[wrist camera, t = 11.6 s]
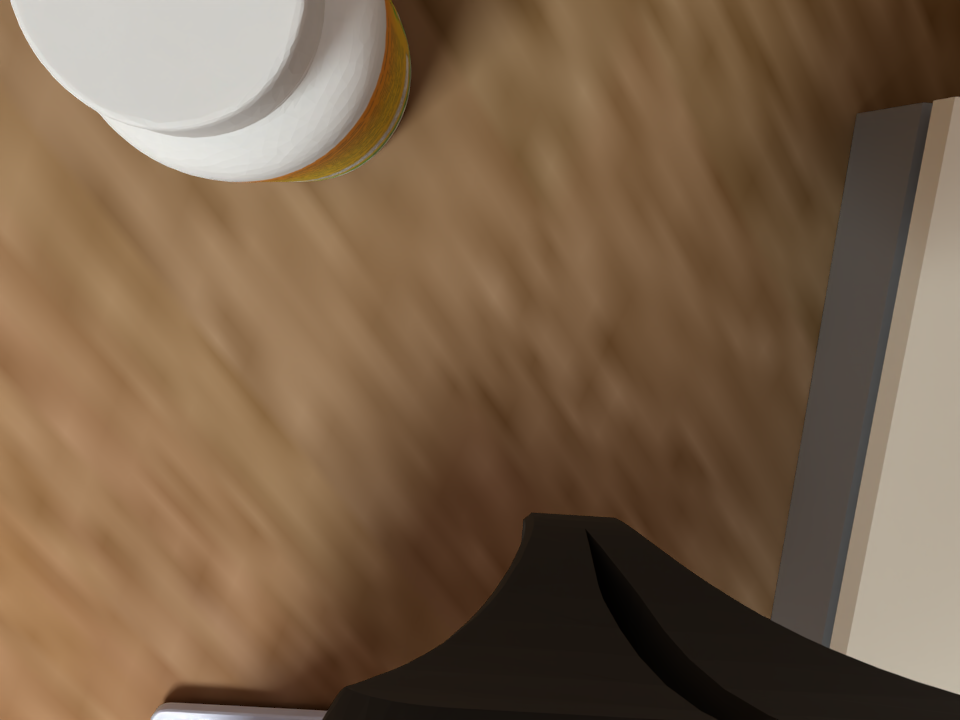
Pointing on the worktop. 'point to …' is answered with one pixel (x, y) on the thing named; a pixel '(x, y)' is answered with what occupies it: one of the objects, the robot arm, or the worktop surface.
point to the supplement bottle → (233, 79)
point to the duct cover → (915, 450)
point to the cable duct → (849, 364)
